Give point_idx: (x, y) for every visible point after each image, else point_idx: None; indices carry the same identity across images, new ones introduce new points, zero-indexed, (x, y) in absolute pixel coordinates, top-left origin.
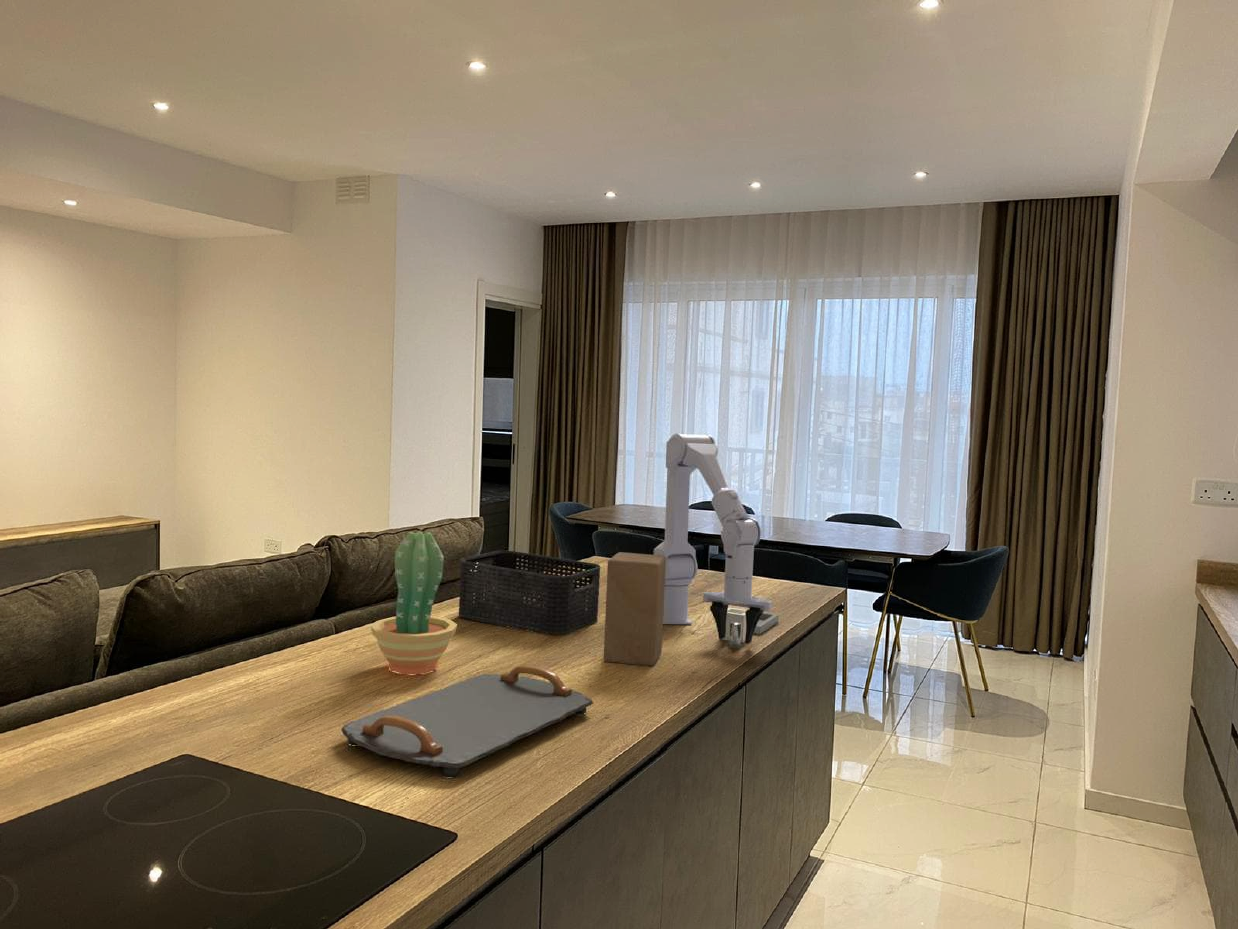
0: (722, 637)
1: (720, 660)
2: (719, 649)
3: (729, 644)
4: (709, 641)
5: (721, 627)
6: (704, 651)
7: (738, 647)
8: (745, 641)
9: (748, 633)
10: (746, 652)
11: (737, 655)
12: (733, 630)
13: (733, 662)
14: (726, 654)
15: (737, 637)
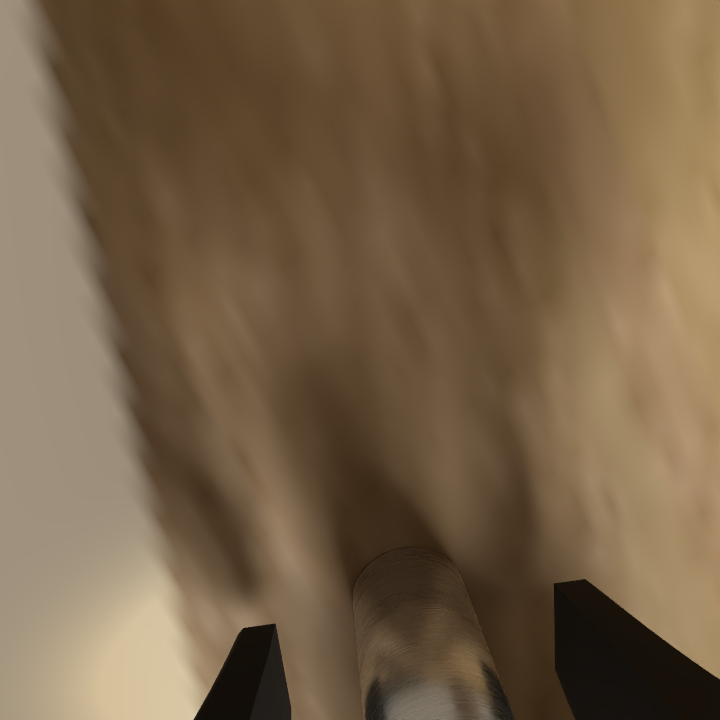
0: (560, 611)
1: (285, 3)
2: (494, 422)
3: (455, 575)
4: (680, 595)
5: (632, 685)
6: (597, 240)
7: (358, 584)
8: (270, 633)
9: (212, 716)
10: (226, 511)
11: (239, 349)
12: (445, 698)
13: (118, 34)
14: (351, 301)
15: (379, 650)
